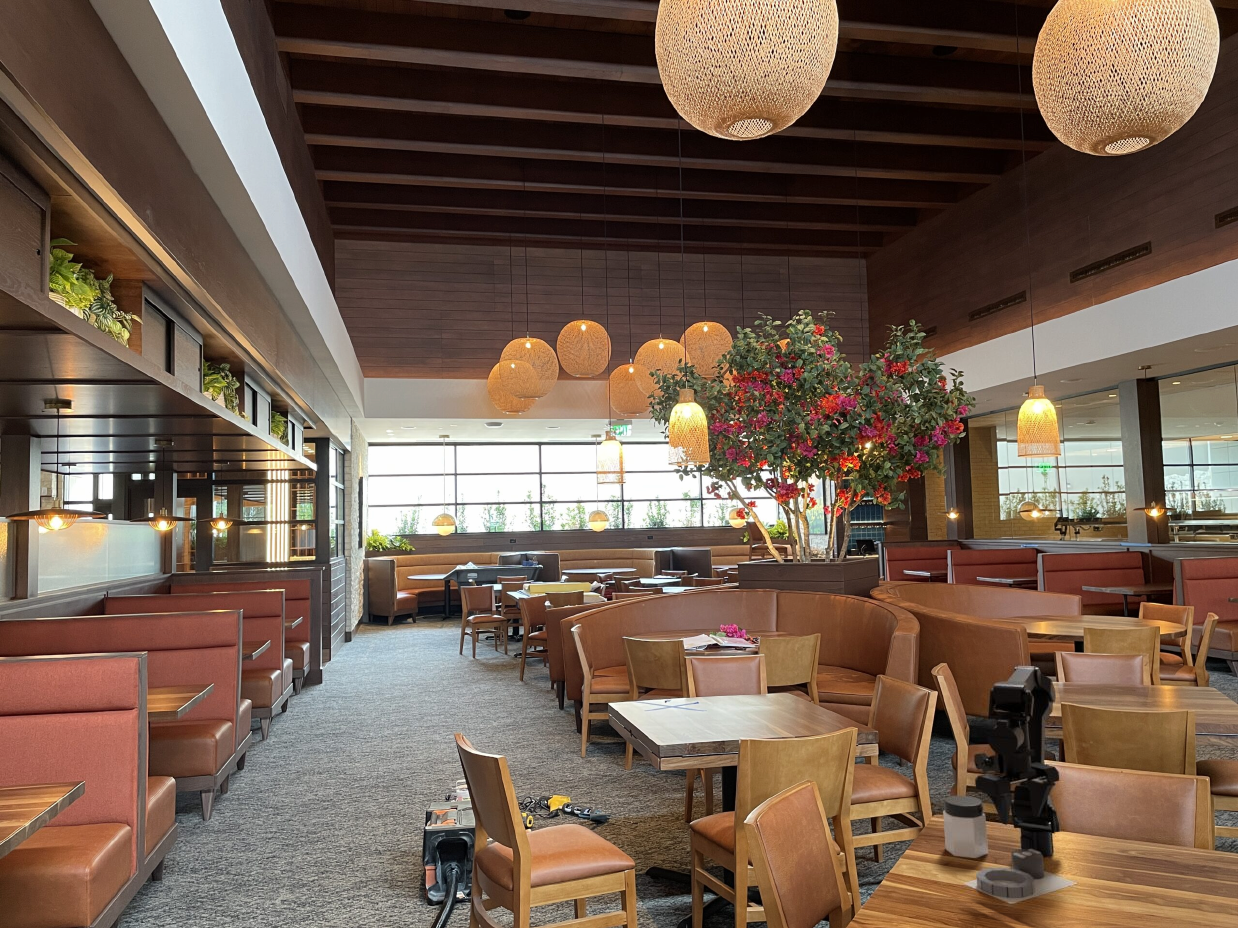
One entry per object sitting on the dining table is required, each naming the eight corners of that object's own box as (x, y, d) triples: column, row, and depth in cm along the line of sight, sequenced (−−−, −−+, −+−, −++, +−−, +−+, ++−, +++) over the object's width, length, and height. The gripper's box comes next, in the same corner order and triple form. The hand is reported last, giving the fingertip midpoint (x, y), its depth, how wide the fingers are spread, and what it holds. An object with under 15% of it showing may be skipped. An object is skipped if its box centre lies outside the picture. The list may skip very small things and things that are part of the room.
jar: (970, 864, 196) (966, 808, 197) (939, 854, 202) (935, 800, 203) (995, 855, 200) (991, 800, 201) (963, 845, 207) (959, 792, 208)
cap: (1026, 866, 191) (1024, 845, 191) (1050, 875, 185) (1049, 854, 186) (1006, 872, 188) (1004, 851, 188) (1030, 881, 183) (1028, 859, 183)
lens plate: (1028, 869, 192) (1027, 855, 192) (1078, 888, 181) (1077, 872, 181) (963, 888, 183) (962, 872, 184) (1011, 908, 172) (1010, 892, 173)
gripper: (1014, 730, 200) (1020, 802, 199) (952, 743, 192) (958, 817, 191) (1057, 740, 190) (1064, 815, 189) (994, 754, 182) (1000, 832, 181)
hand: (1020, 819), depth 188 cm, fingers open, 9 cm apart
